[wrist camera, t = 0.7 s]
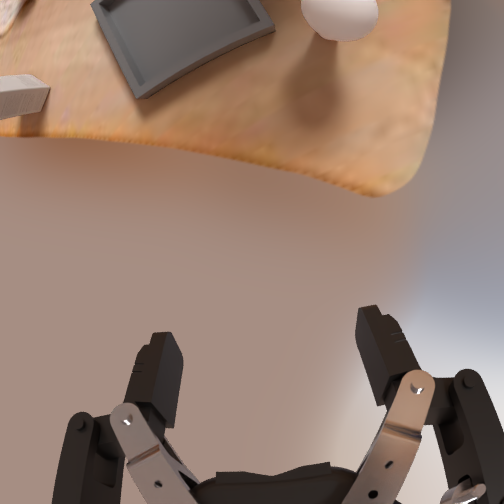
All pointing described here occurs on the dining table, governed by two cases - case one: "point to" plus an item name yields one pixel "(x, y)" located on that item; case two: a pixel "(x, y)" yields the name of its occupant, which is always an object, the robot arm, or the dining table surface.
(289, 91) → the dining table surface
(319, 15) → the lightbulb
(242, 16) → the parts tray
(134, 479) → the robot arm
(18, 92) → the skincare box
